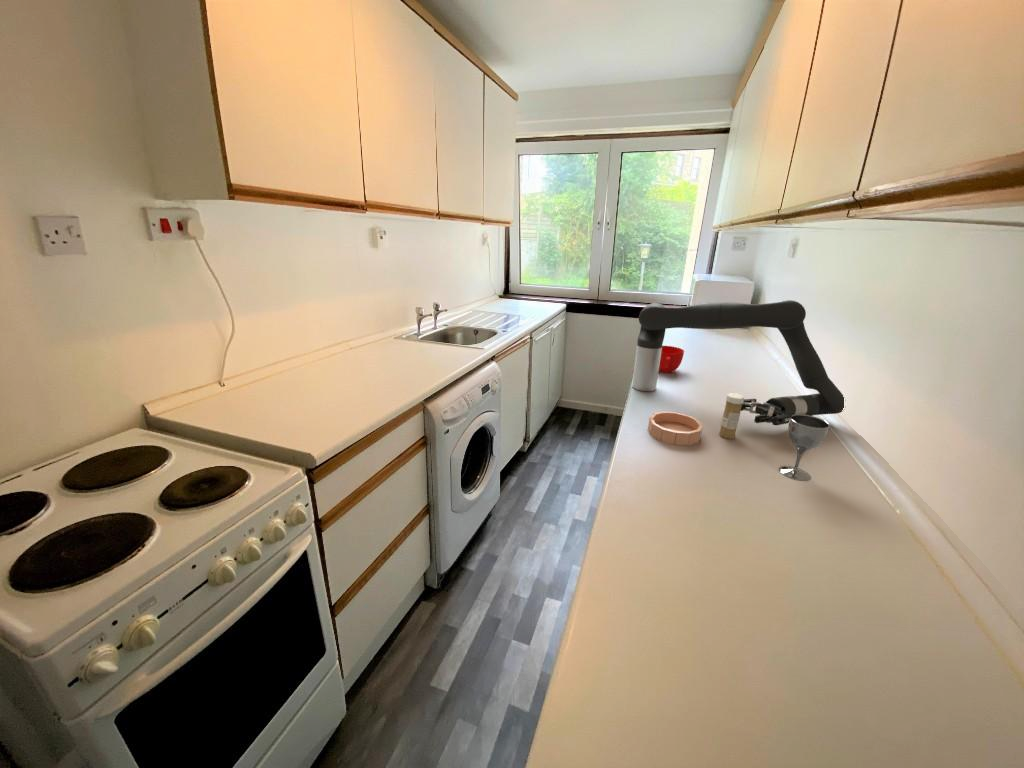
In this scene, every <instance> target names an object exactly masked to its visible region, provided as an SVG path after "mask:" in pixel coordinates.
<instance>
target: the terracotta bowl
mask: <svg viewBox="0 0 1024 768" xmlns="http://www.w3.org/2000/svg"><path fill="white" fill-rule="evenodd" d="M703 427H704V425H703V423H702V422H701V421H700V420H699V419H697V418H695V417H694V416H691V415H688V414H686V413H682V412H675V411H659V412H655V413H652V414H651V415H650V416H649V418H648V425H647V431H648V433H649V435H650V436H651V437H653V438H654V439H656V440H658V441H659V442H662V443H666V444H668V445H669V444H670V445H674V446H685V445H688V446H692V445H695V444H694V443H696V444H698V443H699V442H700V440H701V439H700V438H702V435H703V429H704V428H703ZM697 442H698V443H697ZM691 444H692V445H691Z"/></svg>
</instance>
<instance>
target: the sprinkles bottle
mask: <svg viewBox="0 0 1024 768" xmlns="http://www.w3.org/2000/svg"><path fill="white" fill-rule="evenodd" d="M744 399H745V396H744V395H742V394H740V393H735V392H729V393H727V395H726V399H725V406H724V411H723V415H722V418H721V419H722V420H721V424H720V429H719V432H718V435H719V436H720V437H721V438H724V439H730V440H731V439H732V440H733V439H734V438H736V431H737V428H738V425H739V421H740V417H741V412H742V411H741V407H742V404H743V401H744Z"/></svg>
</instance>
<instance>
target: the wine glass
mask: <svg viewBox="0 0 1024 768" xmlns="http://www.w3.org/2000/svg"><path fill="white" fill-rule="evenodd" d="M829 428H830V424H829V422H827V421H826V420H825V419H822V418H819V417H817V416H815V415H813V416H810V415H804V414H795V415H792V416H791V418H790V420H789V423H788V431H787V433H788V434H787V436H788V439H789V441H790V443H791V444H792V446H793V447H794V449H795V451H796V457H795V458H796V459H795V463H794V466H793V465H781V466H779V467H778V471H779V472H780V474H782V475H783V476H784V477H787V478H789V479H793V480H796V481H800V482H804V481H805V482H807V481H809V480H811V478H812V476H811V474H810V473H809V472H808V471H806V470H805V469H802V468H799V465H800V462H801V460H802V458H803V456H804V455H805V454H806V453H808V452H809V451H811V450H814V449H816V448H818V447H819V446H820V445H821V444H822V443H823V441H824V440H825V438H826V436H827V433H828V430H829Z"/></svg>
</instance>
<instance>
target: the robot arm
mask: <svg viewBox="0 0 1024 768" xmlns="http://www.w3.org/2000/svg"><path fill="white" fill-rule="evenodd" d="M806 314H807V313H806V309H805V307H804V306H803V304H801V303H800V302H798V301H795V300H782V301H778V302H770V303H769V302H768V303H755V304H753V303H743V302H728V301H727V302H726V301H725V302H724V301H723V302H721V301H719V302H717V301H716V302H705V303H704V302H703V303H698V304H692V305H686V306H680V307H679V306H678V307H677V306H676V307H675V306H673V307H672V306H669V307H668V306H664V304H662V303H660V302H652V303H650V304H647V305H646V306H645V307H643V308H642V310H640V312H639V315H638V323H639V324H640V329H639V330H640V331H639V334H638V336H637V343H636V351H635V359H634V368H633V377H632V384H631V387H632V388H633V389H635V390H637V391H642V392H653V391H656V390H657V385H658V378H659V373H660V372H659V365H660V358H661V351H662V346H663V343H664V339H665V335H666V330H667V329H678V328H681V329H694V330H695V329H697V330H698V329H699V330H728V329H729V330H730V329H740V328H741V329H742V328H749V327H750V328H751V327H753V328H754V327H758V328H759V327H761V328H774V329H777V330H778V331H779V332H780V335H782V337H783V339H784V341H785V342H786V345H787V346H788V347H787V348H788V350H789V353H790V355H791V357H792V360H793V363H794V366H795V368H796V371H797V373H798V375H799V378H800V380H801V382H802V385H803V386H804V387H805V388H806V389H809V390H815V391H817V392H818V393H811V394H807V395H805V394H803V395H802V394H801V395H787V396H779V397H778V396H777V397H776V396H775V397H772V398H768V400H767V401H765V402H763V401H762V402H757V401H758V400H757V399H756V398H746V399H745V398H744V401H743V404H742V407H741V411H740V412H742V411H746V412H749V413H750V414H755V417H754V420H753V422H754V423H756V424H759V423H767V424H771V425H773V426H781V425H787V424H789V422H790V418H791V416H792V415H795V414H804V415H810V416H822V415H838V414H840V413H842V412H843V411H844V410H843V408H844V398H845V396H844V394H843V393H842V391H841V390H840V389H839V388H838V387H837V386H836V385H835V383H834V382H833V381H832V379H830V377H829V376H828V373H827V371H826V369H825V367H824V364H823V362H822V360H821V358H820V356H819V354H818V353H817V350H816V348H815V347H814V346H813V344H812V341H811V339H810V338H809V336H808V333H807V330H806V328H805V323H804V320H805V319H806V316H807V315H806ZM843 396H844V397H843ZM754 408H755V409H754ZM842 410H843V411H842ZM756 414H757V415H756Z"/></svg>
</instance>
